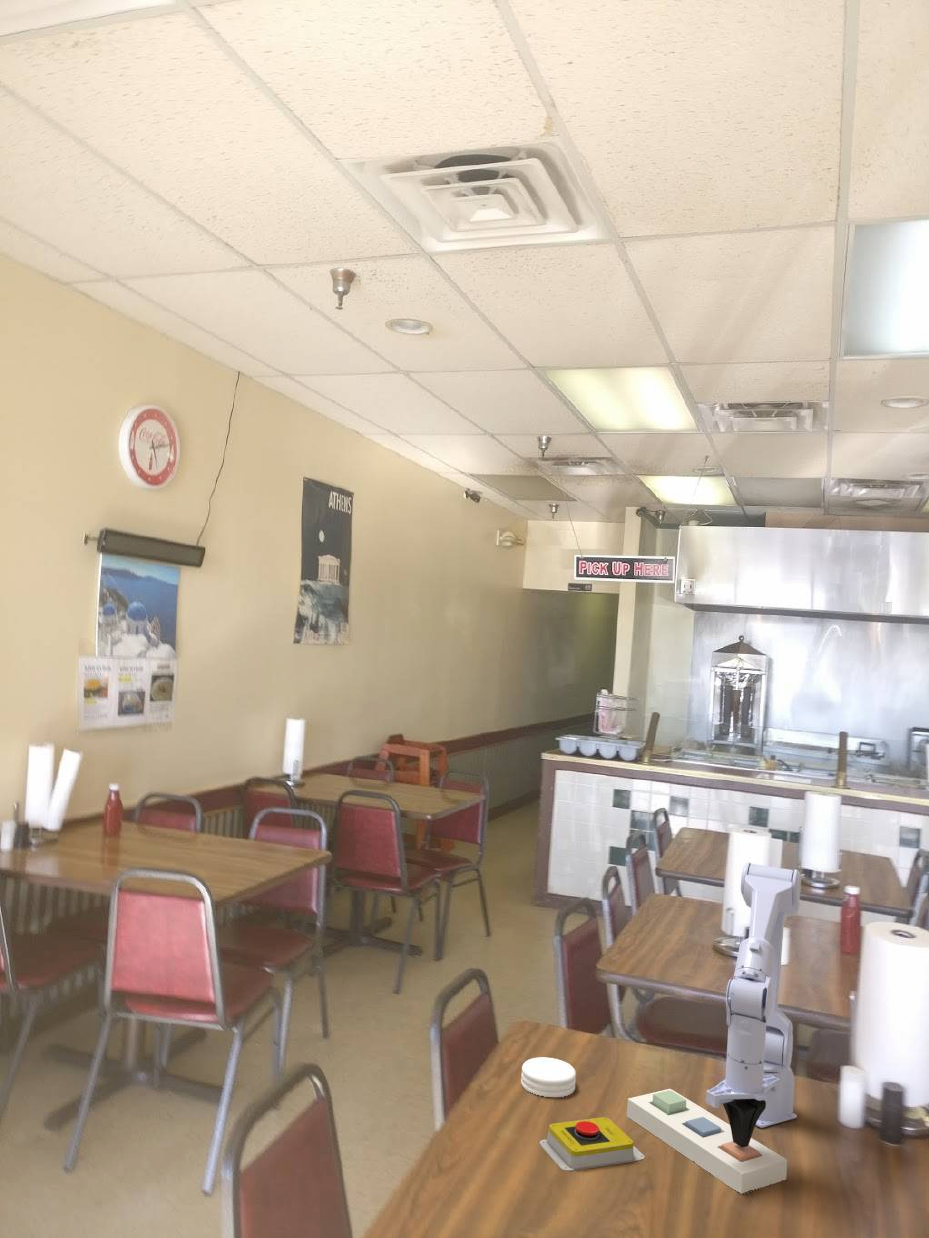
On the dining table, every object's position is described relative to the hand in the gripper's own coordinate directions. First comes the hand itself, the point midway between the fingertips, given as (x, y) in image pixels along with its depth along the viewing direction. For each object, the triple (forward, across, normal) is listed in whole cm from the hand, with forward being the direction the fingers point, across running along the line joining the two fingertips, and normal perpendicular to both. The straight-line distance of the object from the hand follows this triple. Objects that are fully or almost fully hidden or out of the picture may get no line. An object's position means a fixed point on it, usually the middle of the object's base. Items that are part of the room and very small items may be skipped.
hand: (740, 1143), depth 149 cm
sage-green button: (+3, 0, +16) cm, 16 cm away
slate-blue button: (+4, 0, +8) cm, 9 cm away
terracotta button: (+4, 0, 0) cm, 4 cm away
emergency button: (+5, -18, +14) cm, 24 cm away
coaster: (+5, -11, +36) cm, 38 cm away
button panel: (+4, 0, +8) cm, 9 cm away
